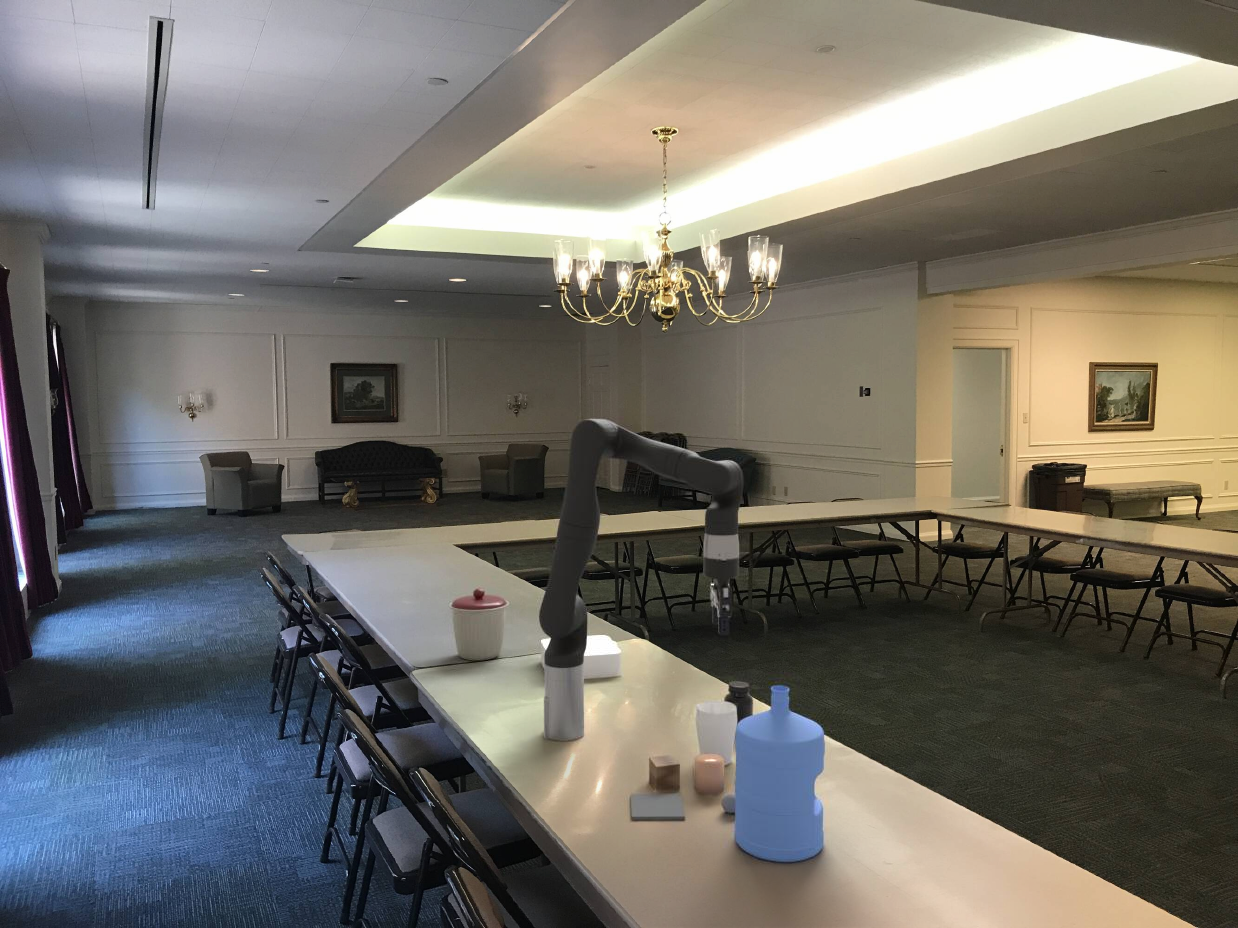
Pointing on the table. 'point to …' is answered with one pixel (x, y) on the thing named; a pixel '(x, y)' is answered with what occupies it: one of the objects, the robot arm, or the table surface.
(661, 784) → the walnut block
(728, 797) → the grey ball
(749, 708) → the supplement bottle
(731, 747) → the cup
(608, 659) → the projector
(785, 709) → the water jug
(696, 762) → the peach rounded capsule
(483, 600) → the canister
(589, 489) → the robot arm
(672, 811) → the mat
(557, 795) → the table surface
